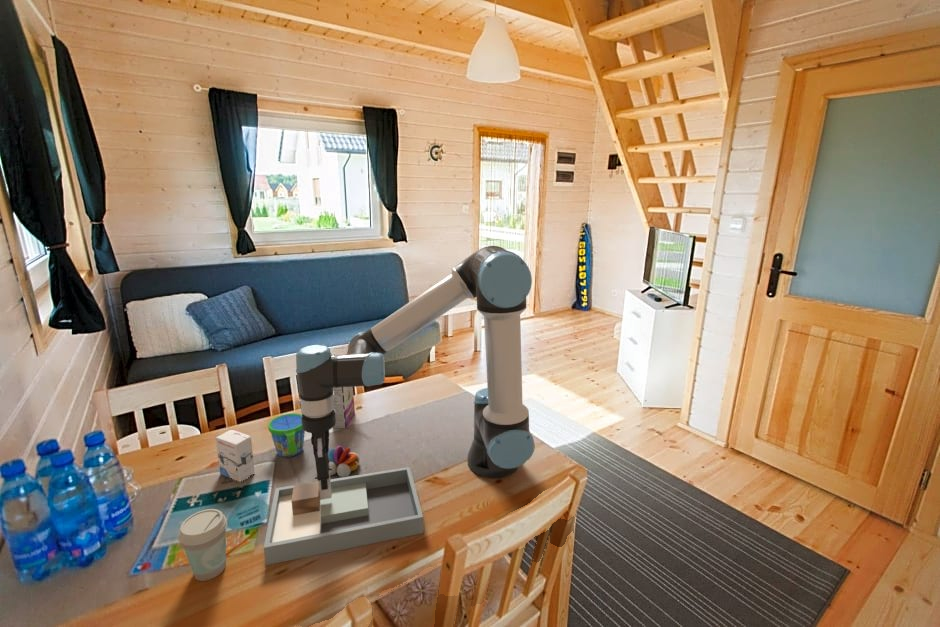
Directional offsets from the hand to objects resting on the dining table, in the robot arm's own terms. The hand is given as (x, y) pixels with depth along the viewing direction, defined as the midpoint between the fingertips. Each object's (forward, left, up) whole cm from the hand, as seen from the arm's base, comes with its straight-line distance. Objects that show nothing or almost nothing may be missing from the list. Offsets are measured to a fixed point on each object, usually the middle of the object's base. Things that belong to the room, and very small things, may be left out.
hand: (325, 496), depth 109 cm
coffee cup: (+23, +12, -4) cm, 26 cm away
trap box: (-5, +4, -4) cm, 7 cm away
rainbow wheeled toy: (-4, -16, -4) cm, 17 cm away
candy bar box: (-5, -45, -4) cm, 45 cm away
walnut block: (+5, 0, -1) cm, 5 cm away
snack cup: (+11, -30, -4) cm, 32 cm away
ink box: (+24, -22, -4) cm, 33 cm away
